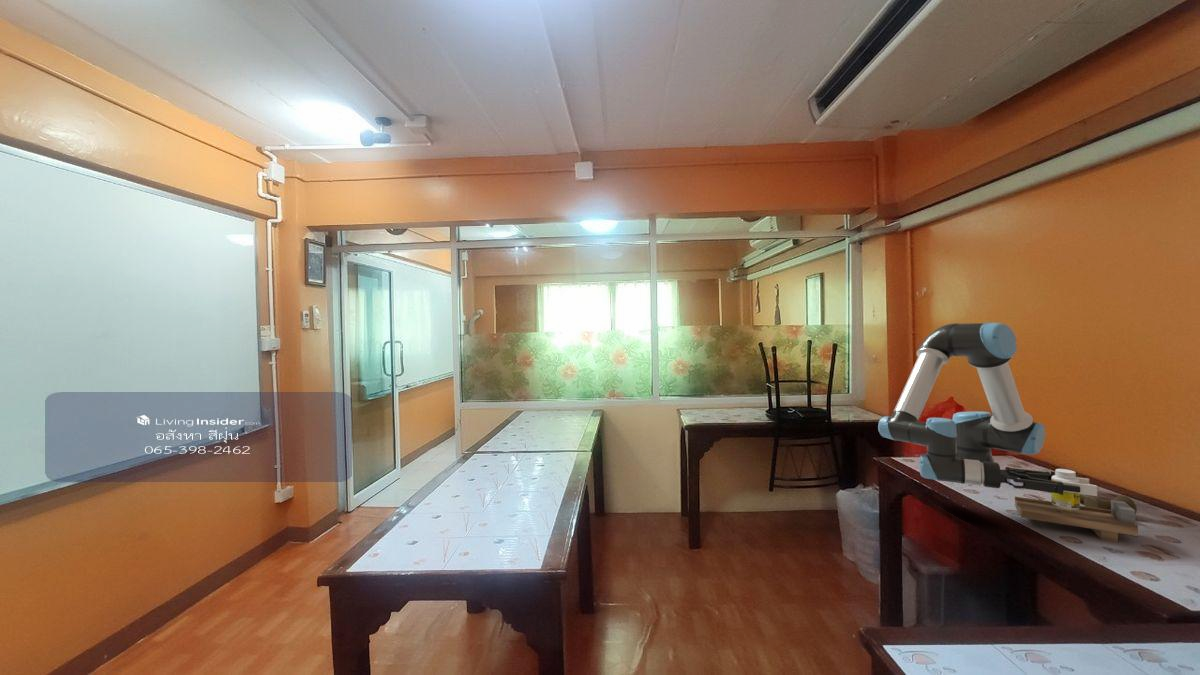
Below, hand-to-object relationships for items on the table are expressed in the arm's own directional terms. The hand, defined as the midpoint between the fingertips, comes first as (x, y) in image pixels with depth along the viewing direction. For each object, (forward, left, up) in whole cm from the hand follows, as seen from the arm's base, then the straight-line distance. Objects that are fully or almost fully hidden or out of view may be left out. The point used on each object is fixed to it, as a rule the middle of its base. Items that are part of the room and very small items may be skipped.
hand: (1092, 487), depth 123 cm
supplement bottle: (0, -5, -7) cm, 9 cm away
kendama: (-21, +6, -13) cm, 26 cm away
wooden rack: (0, -4, -12) cm, 13 cm away
